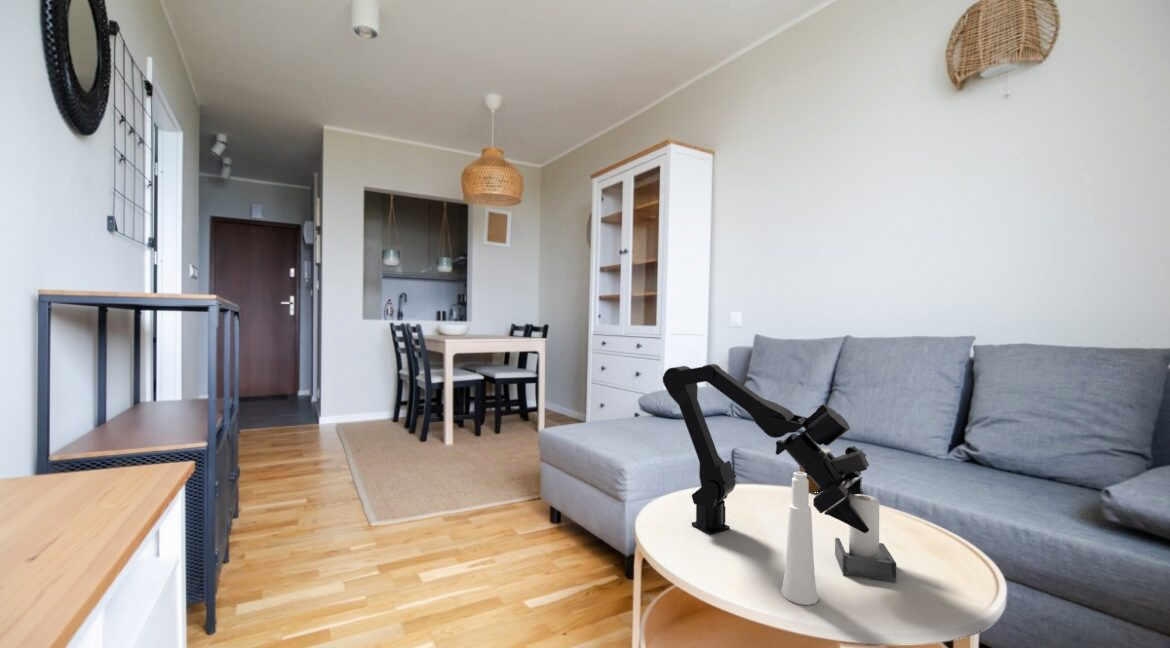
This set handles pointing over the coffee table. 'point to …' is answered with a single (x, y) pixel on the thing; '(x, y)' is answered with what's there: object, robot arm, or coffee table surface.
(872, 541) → the paper roll
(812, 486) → the disposable coffee cup
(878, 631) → the coffee table surface
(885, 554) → the tray
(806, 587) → the cosmetic bottle
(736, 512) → the coffee table surface
